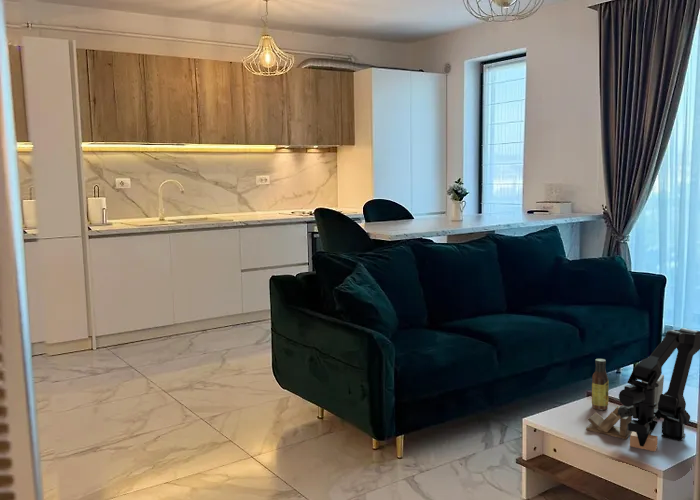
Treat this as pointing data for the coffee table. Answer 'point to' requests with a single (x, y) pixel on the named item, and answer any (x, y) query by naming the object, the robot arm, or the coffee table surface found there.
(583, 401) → the coffee table surface
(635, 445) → the peg
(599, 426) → the cradle
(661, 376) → the skincare box
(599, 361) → the sauce bottle
